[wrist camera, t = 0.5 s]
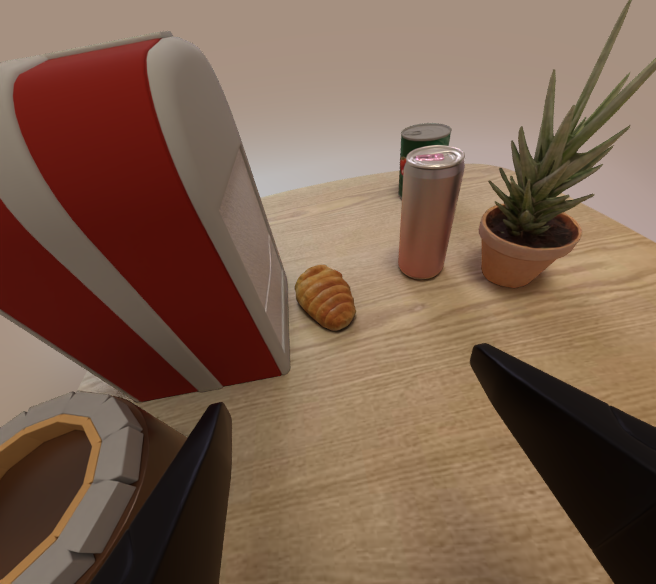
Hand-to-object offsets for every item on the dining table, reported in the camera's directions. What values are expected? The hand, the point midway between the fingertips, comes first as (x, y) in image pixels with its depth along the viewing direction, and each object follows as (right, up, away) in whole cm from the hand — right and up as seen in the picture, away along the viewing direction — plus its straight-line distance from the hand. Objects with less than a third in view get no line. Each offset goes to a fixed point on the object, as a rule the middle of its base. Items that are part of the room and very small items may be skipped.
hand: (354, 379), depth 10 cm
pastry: (-1, +2, +27) cm, 27 cm away
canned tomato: (+17, +22, +43) cm, 51 cm away
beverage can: (+12, +6, +29) cm, 32 cm away
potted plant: (+22, +6, +26) cm, 35 cm away
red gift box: (-15, -2, +26) cm, 30 cm away
